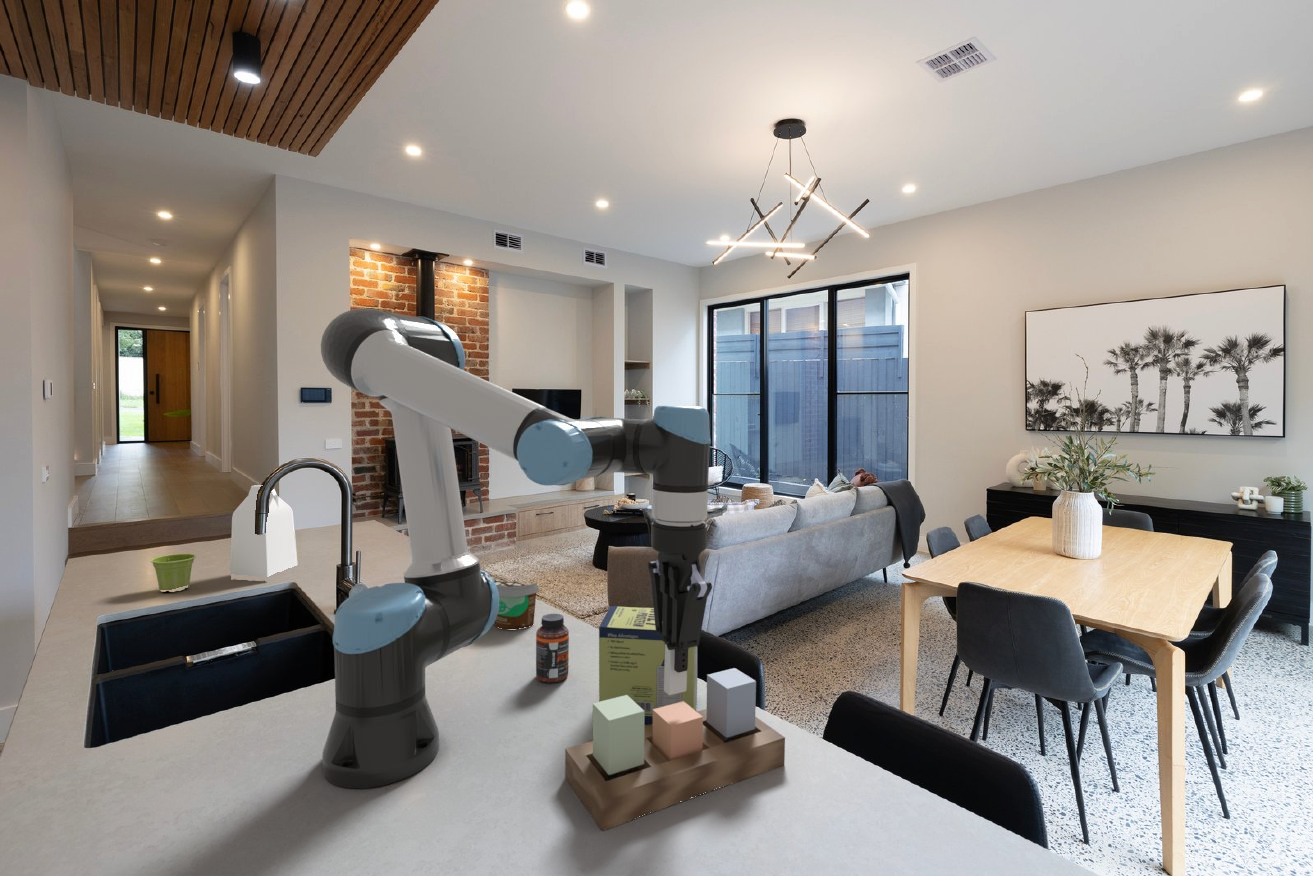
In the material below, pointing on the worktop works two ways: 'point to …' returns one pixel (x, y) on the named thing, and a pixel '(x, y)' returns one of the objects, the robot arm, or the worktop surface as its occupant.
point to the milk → (262, 538)
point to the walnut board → (670, 772)
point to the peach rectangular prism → (677, 730)
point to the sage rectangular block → (618, 734)
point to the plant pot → (173, 570)
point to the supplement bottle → (552, 649)
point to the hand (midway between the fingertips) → (675, 690)
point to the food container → (515, 604)
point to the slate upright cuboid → (731, 702)
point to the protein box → (638, 661)
